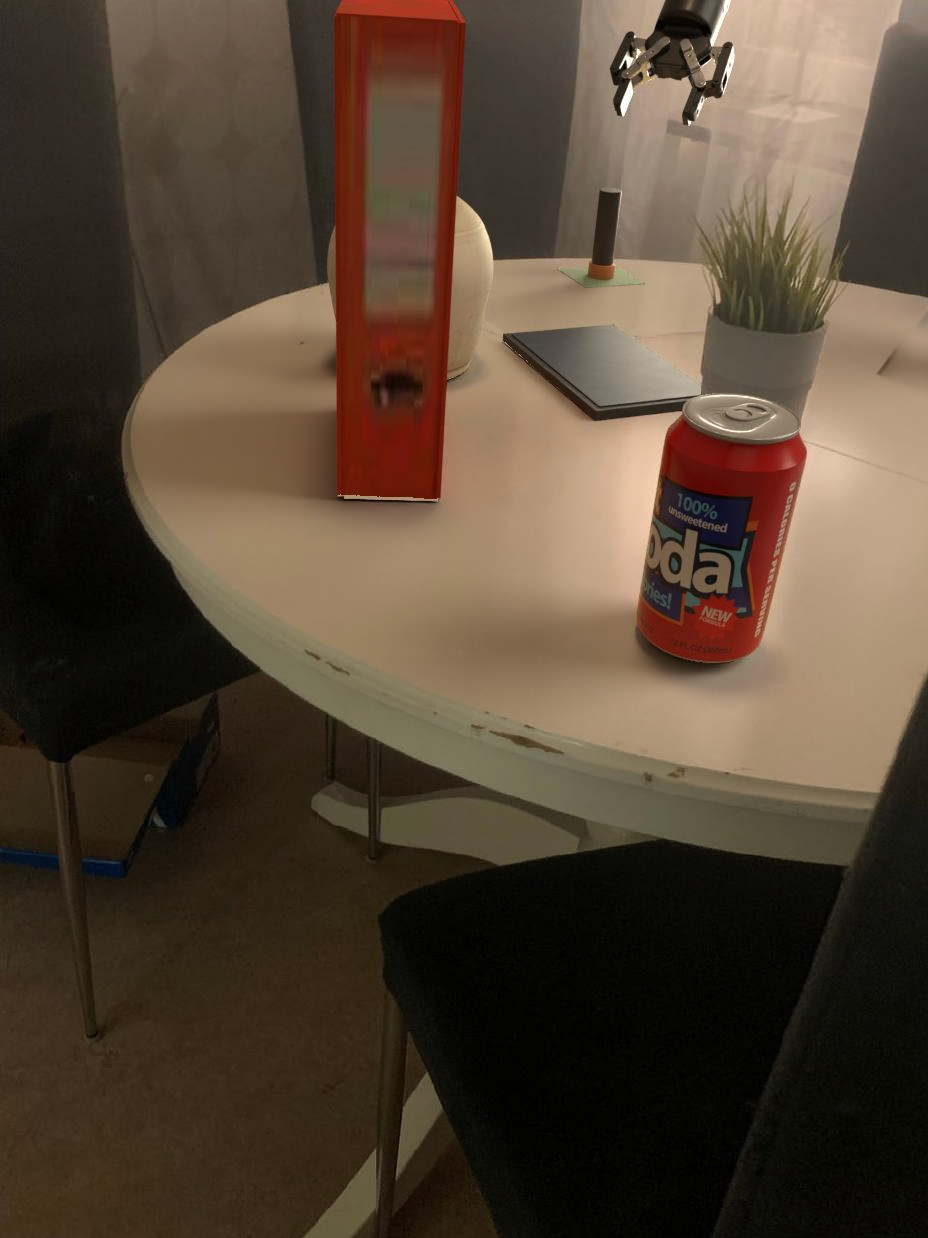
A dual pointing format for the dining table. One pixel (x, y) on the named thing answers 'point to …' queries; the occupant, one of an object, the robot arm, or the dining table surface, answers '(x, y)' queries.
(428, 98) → the file binder
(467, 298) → the jug
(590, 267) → the black orange cylinder
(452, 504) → the dining table surface
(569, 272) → the pad
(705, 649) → the soda can
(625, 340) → the tablet
